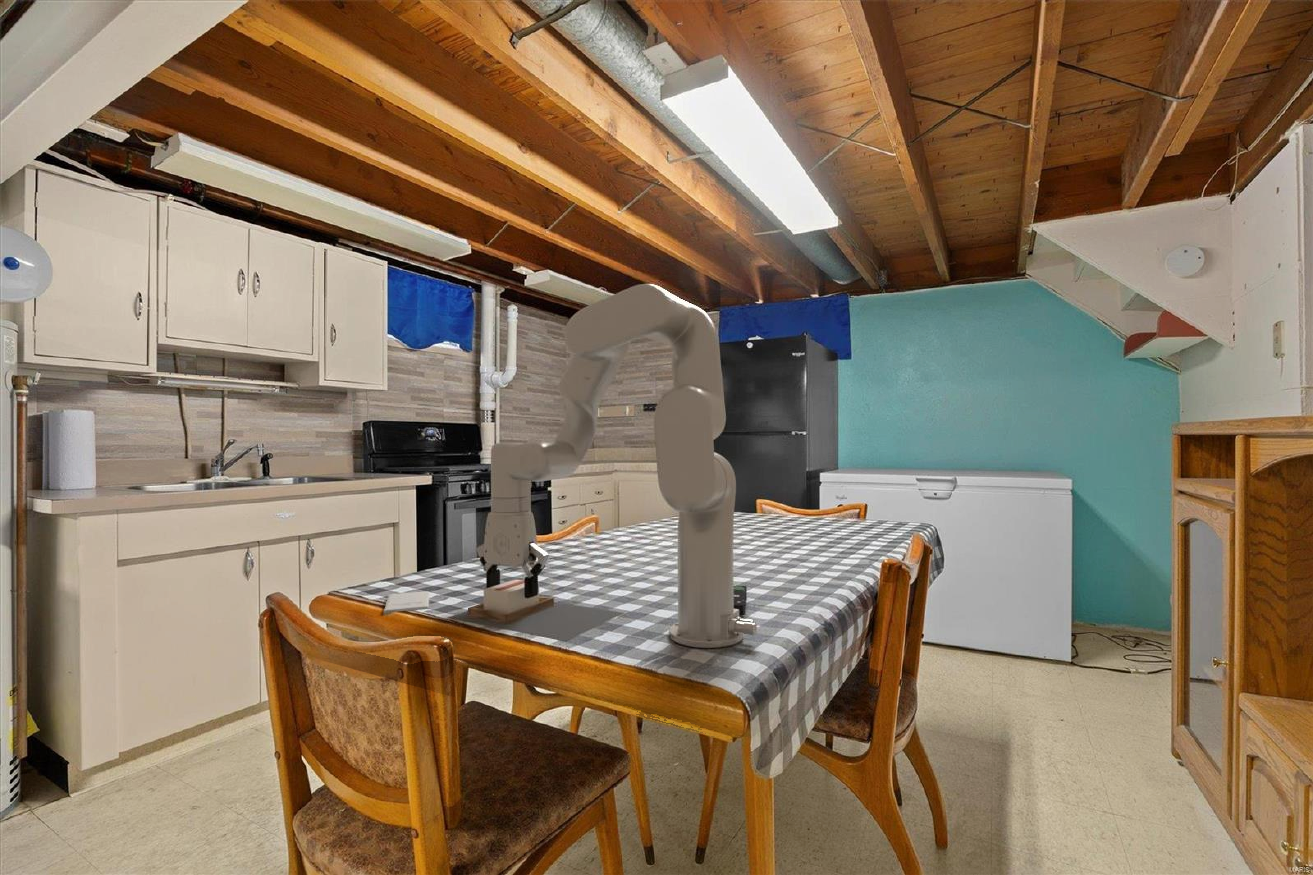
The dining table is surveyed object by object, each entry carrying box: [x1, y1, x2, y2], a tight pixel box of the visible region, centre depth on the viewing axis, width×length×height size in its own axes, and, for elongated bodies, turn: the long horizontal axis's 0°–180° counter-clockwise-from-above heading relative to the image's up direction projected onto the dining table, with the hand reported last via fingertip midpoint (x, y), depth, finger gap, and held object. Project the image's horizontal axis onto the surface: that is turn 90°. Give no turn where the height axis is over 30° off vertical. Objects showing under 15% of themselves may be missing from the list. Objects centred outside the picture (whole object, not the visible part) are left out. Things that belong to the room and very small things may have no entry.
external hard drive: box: [383, 590, 430, 616], centre depth 125 cm, size 2×8×12 cm
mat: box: [447, 601, 624, 642], centre depth 115 cm, size 28×18×1 cm, turn 61°
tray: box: [467, 595, 555, 624], centre depth 118 cm, size 10×13×2 cm
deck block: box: [483, 579, 540, 613], centre depth 118 cm, size 9×6×5 cm, turn 151°
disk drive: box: [734, 585, 748, 616], centre depth 124 cm, size 10×3×15 cm
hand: (511, 593), depth 118 cm, fingers open, 9 cm apart
